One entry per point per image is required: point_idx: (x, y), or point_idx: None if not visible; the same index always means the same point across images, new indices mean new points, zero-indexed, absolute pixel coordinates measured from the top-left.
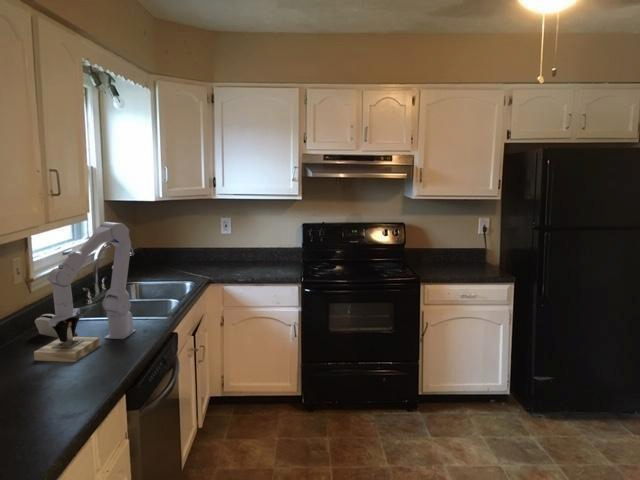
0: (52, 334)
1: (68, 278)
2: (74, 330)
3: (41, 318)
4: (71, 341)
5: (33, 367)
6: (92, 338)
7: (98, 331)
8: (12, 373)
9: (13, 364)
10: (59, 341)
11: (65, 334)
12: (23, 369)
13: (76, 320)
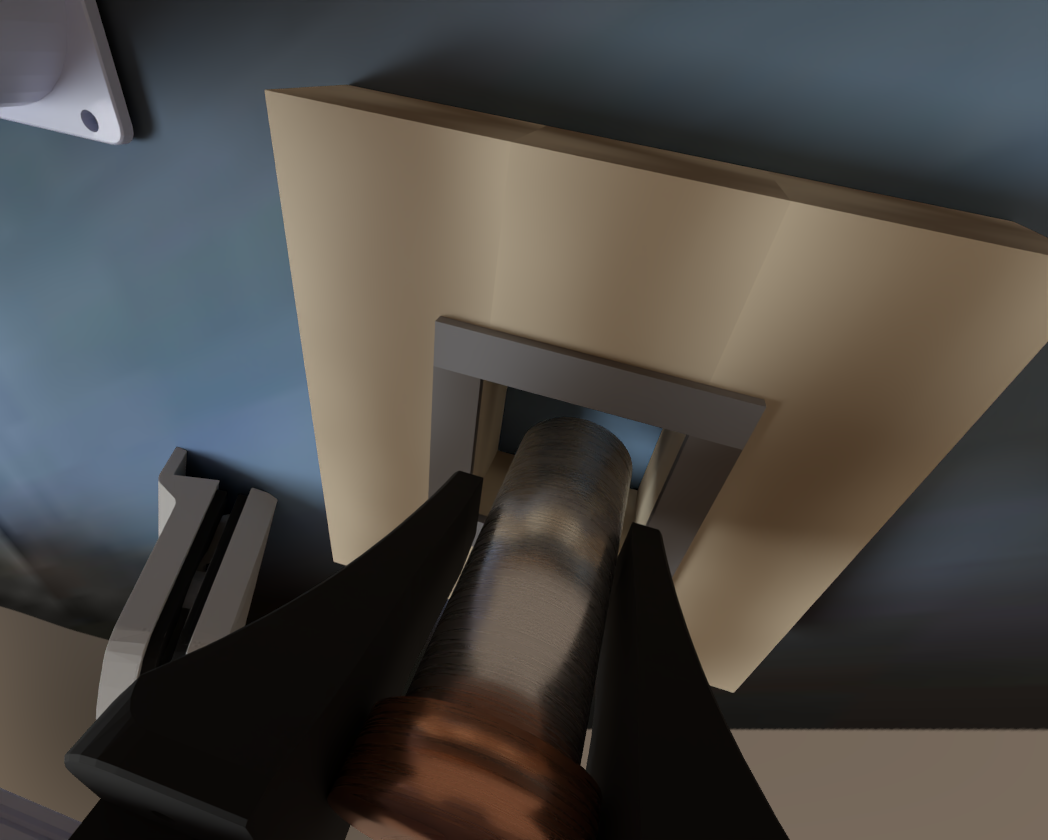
0: (250, 597)
1: None
2: (417, 540)
3: None
4: (588, 462)
5: (938, 605)
6: (325, 218)
7: (30, 309)
8: (1018, 702)
9: (769, 702)
10: None
11: (691, 643)
12: (950, 655)
13: (264, 720)
